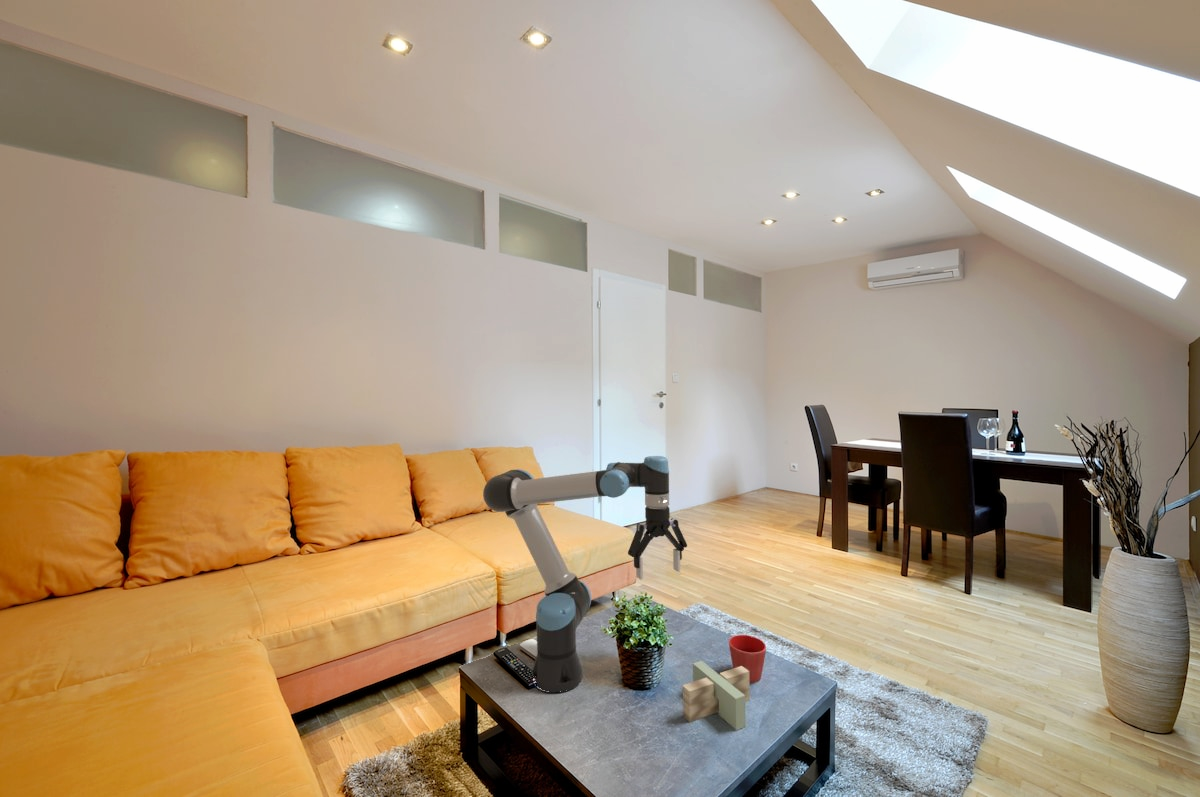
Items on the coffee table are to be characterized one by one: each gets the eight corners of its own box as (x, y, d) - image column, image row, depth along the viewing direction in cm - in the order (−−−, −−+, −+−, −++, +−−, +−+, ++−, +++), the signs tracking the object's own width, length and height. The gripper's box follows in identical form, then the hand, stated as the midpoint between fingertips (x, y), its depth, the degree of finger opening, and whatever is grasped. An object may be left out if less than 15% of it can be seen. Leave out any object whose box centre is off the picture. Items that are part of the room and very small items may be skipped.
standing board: (690, 722, 124) (689, 691, 124) (683, 715, 127) (682, 685, 127) (749, 700, 133) (749, 671, 133) (742, 694, 136) (741, 665, 136)
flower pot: (761, 665, 150) (761, 634, 150) (770, 687, 139) (769, 653, 139) (726, 664, 151) (726, 633, 151) (732, 685, 140) (732, 652, 140)
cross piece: (745, 726, 122) (745, 695, 122) (736, 730, 121) (735, 698, 121) (702, 688, 139) (701, 660, 139) (693, 691, 137) (692, 663, 137)
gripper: (627, 513, 142) (629, 585, 142) (697, 504, 152) (698, 571, 152) (616, 508, 148) (617, 577, 149) (683, 499, 159) (684, 563, 159)
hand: (658, 574), depth 150 cm, fingers open, 13 cm apart
